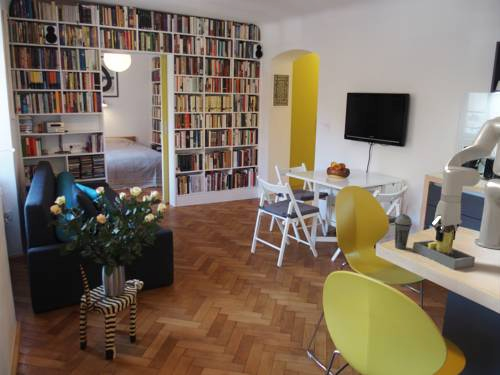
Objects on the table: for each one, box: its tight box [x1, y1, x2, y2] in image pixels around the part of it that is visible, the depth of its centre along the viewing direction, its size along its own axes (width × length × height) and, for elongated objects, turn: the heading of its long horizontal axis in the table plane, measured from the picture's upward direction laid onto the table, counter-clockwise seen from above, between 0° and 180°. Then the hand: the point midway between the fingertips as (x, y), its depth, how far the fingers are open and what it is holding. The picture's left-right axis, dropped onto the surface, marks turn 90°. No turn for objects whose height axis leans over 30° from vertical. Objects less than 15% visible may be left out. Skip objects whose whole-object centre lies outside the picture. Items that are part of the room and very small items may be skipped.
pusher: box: [427, 241, 437, 251], centre depth 178 cm, size 8×5×5 cm, turn 113°
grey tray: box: [412, 239, 476, 271], centre depth 174 cm, size 11×22×4 cm, turn 23°
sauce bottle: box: [436, 224, 454, 256], centre depth 172 cm, size 7×6×20 cm
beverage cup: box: [394, 204, 413, 250], centre depth 183 cm, size 7×7×20 cm
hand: (445, 239), depth 172 cm, fingers closed on sauce bottle, 6 cm apart
